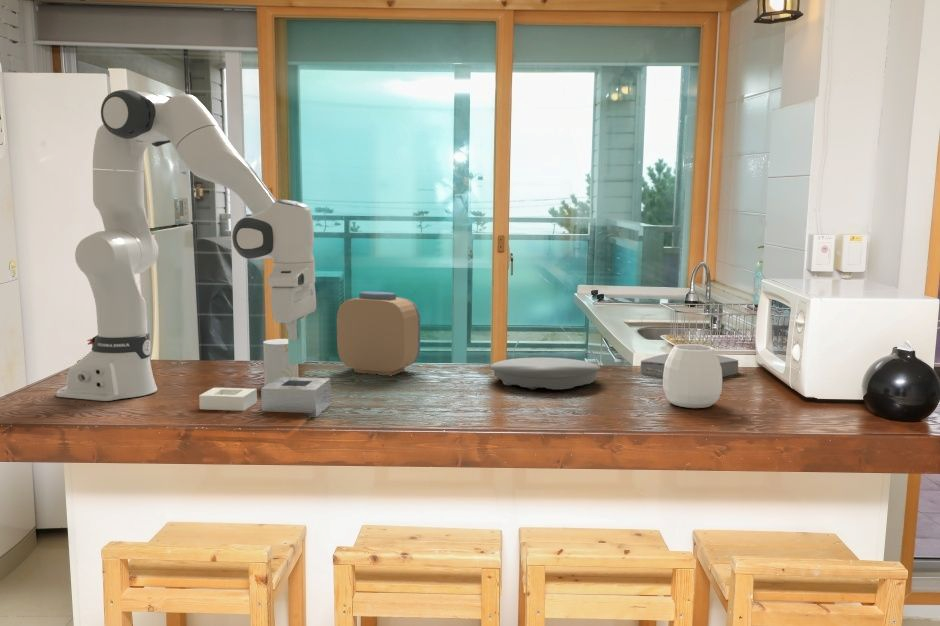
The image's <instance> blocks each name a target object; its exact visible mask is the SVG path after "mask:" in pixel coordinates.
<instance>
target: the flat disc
mask: <svg viewBox="0 0 940 626" xmlns="http://www.w3.org/2000/svg"><path fill="white" fill-rule="evenodd" d="M490 368H491V370H492V371H493V374H494V376H495V377H496V378H497V379H499V380H500V381H502V383H503V385H505V386H512V385H514V386H520V387H521V388H527V389H529V390H531V391H534V390H536V389H538V388H542V389H543V388H546V389H551V390H565V389H566V390H567V389H568V390H569V389H573V388H574V387H579V386H585V385H589V384H591V383H593V382H594V381H595V380H596V378H597V375H598V372H599V371H600V370H601V367H600V365H598V364H596V363H594V362H590V361H587V360H579V359H573V358H564V357H563V358H562V357H518V358H510V359H504V360H500V361H499V360H498V361H497V362H494V363H492V364H491V365H490Z"/></svg>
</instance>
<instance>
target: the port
mask: <svg viewBox="0 0 940 626" xmlns="http://www.w3.org/2000/svg"><path fill="white" fill-rule="evenodd" d="M331 380H332V379H331V378H329V377H328V378H327V377H326V378H325V377H299V376H298V377H279V378H277V379H275V380H274V381H272V382H271V383H269V384H267V385H266V386H265V385H264V386H263V387H261V388H260V390H261V391H260V393H261V394H260V395H261V398H260V399H261V412H269V413H270V412H271V413H272V412H273V413H274V412H276V413H305V414H308V415H306V418H317V417H318V416H319V415H320V414H321V413H323V412H324V411H325V410H326V409H327V408H329V406H330V405H332V388H331V385H332V384H331V383H332V382H331ZM322 411H323V412H322Z"/></svg>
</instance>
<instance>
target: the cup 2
mask: <svg viewBox="0 0 940 626" xmlns="http://www.w3.org/2000/svg"><path fill="white" fill-rule="evenodd" d="M669 353H670V354H669ZM669 353H668V354H669V355H668V358H667V360H666V363H665V366H664V373H663V378H662V388H663V389H662V390H663V393H664V394H665V398H666V399H667V400H668V401H669V402H670V403H671V404H672V405H675V406H678V407H683V408H688V409H700V408H701V409H703V408H704V409H705V408H709V407H711V406H712V405H714V404H715V403H716V402H718V400H719V398H720V396H721V394H722V391H723V389H722V388H723V377H722V368H721V365H720V362H719V359H718V357H717V355H718V354H717V353H716V351H715V349H714V347H712V346H709V345H704V344H697V343H696V344H693V343H691V344H690V343H688V344H687V343H685V344H682V343H681V344H677V345H674V346H673V347H672V349H671V350H670V352H669Z"/></svg>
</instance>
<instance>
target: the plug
mask: <svg viewBox="0 0 940 626" xmlns="http://www.w3.org/2000/svg"><path fill="white" fill-rule="evenodd" d="M296 326H297V331H298V339H296V340H290V339H289V338H288V337H287V339H288V348H289V364H298V365H303V364H304V363H306V362H307V343H306V342H307V338H306V333H307V332H306V323H305V317H301V318H299V319H297V324H296Z"/></svg>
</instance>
